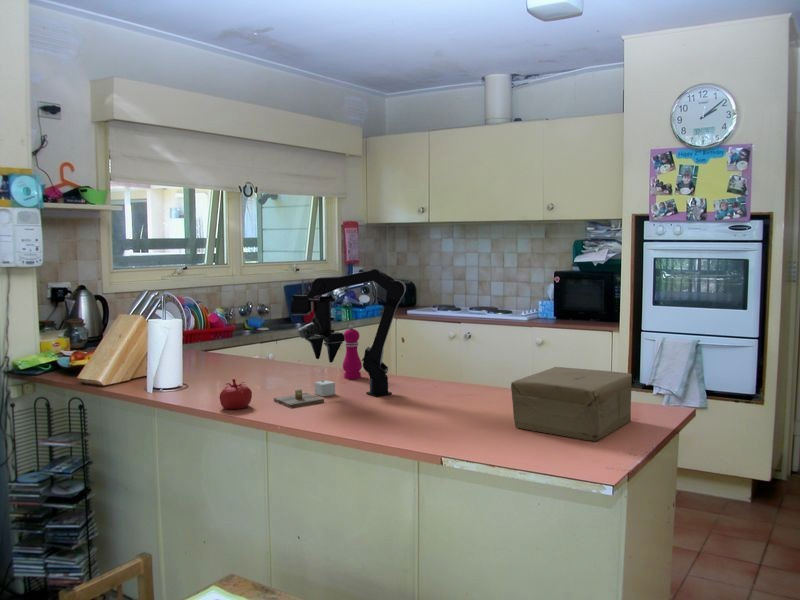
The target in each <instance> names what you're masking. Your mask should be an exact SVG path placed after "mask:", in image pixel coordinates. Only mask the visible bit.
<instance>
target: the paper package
mask: <svg viewBox="0 0 800 600" xmlns="http://www.w3.org/2000/svg"><path fill="white" fill-rule="evenodd" d="M632 376H633V375H632V373H630V372H619V371H611V370H609V371H608V370H600V369H588V368H587V369H586V368H574V367H573V368H572V367H566V366H565V367H563V366H561V367H560V366H553V367H551V368H549V369H546V370H542V371H540V372H536V373H534V374H531V375H528V376H525V377H522V378H519V379H516V380H513V381H512V382H511V383H510V384H511V385H510V389H511V401H512V402H511V403H512V411H513V421H514V426H515V428H517V429H522V430H527V431H532V432H539V433H545V434H550V435H557V436H563V437H568V438H574V439H579V440H584V441H591V442H596V441H599V440H600V439H602V438H604V437H605V436H607V435H609V434H611V433H612V432H614V431H615V430H617V429H618V430H619V428H621V427H622V426H625V425H626V424H628V423H629V422H632V421H631V420H632V419H631V417H632V416H631V415H632V414H631V413H632V409H631V408H632V406H631V405H632V378H633V377H632Z"/></svg>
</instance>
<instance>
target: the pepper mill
mask: <svg viewBox="0 0 800 600" xmlns="http://www.w3.org/2000/svg"><path fill="white" fill-rule="evenodd" d="M343 334H344V335H345V341H344V344H345V345H344V346H345V348H346V349H345V352H346V353H345V357H344V360H343V361H342V369H343V370H344V373H343V376H344V379H346V380H355V379H356V380H358V379H360V378H362V377H361V375H362V373H361V372H360V371H361V370H362V367H363V362H362V359H361V358H360V356H359V353H358V346H359V342H358V341H359V339H360V332H359V331H358V330H357V329H354V325H353V324H350V325H348V329H346V330H345V331H344V332H343Z"/></svg>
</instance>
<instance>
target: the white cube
mask: <svg viewBox="0 0 800 600" xmlns="http://www.w3.org/2000/svg"><path fill="white" fill-rule="evenodd" d="M314 395H317V396H318V397H319V396H320V397H327V396H333V395H336V382H334V381H330V380H320V381H315V382H314Z"/></svg>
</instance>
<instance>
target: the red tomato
mask: <svg viewBox="0 0 800 600" xmlns="http://www.w3.org/2000/svg"><path fill="white" fill-rule="evenodd" d="M231 380H232V383H230V382H227V383H226V386H225V387H224V388H223V389H222V390H221V392H220V393H219V397H218V399H219V401H220V405H221V407H222V408H223V409H225V410H239V409H240V410H241V408H242V409H244V408H247V407H248V406H249V405H250V403H251V401H252V397H253V392H252V390H251V388H250V387H248V386H247V385H246V384H244V383H245V382H239V383H236V378H232V379H231Z"/></svg>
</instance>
